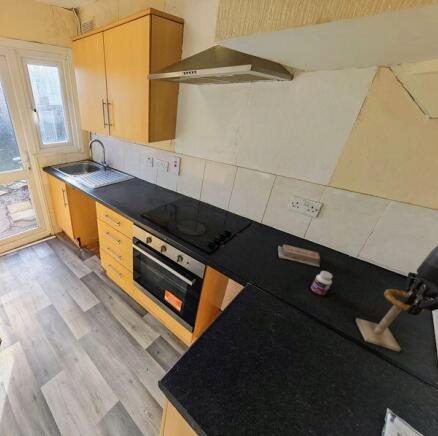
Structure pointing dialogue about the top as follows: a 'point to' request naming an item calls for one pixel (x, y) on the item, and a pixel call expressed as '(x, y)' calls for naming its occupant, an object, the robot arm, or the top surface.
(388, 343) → the wooden peg stand
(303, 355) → the top surface
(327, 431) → the top surface
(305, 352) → the top surface
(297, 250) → the packaged product
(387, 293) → the ring
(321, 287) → the pill bottle
